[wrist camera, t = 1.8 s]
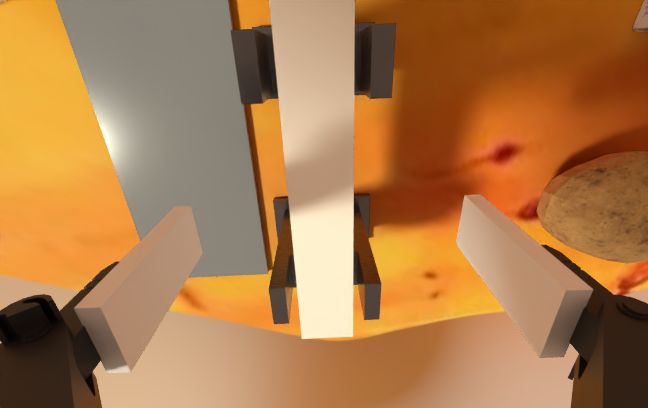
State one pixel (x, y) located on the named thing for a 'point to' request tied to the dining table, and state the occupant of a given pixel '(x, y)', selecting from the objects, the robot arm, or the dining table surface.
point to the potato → (601, 207)
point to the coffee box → (642, 19)
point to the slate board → (174, 119)
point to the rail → (318, 154)
